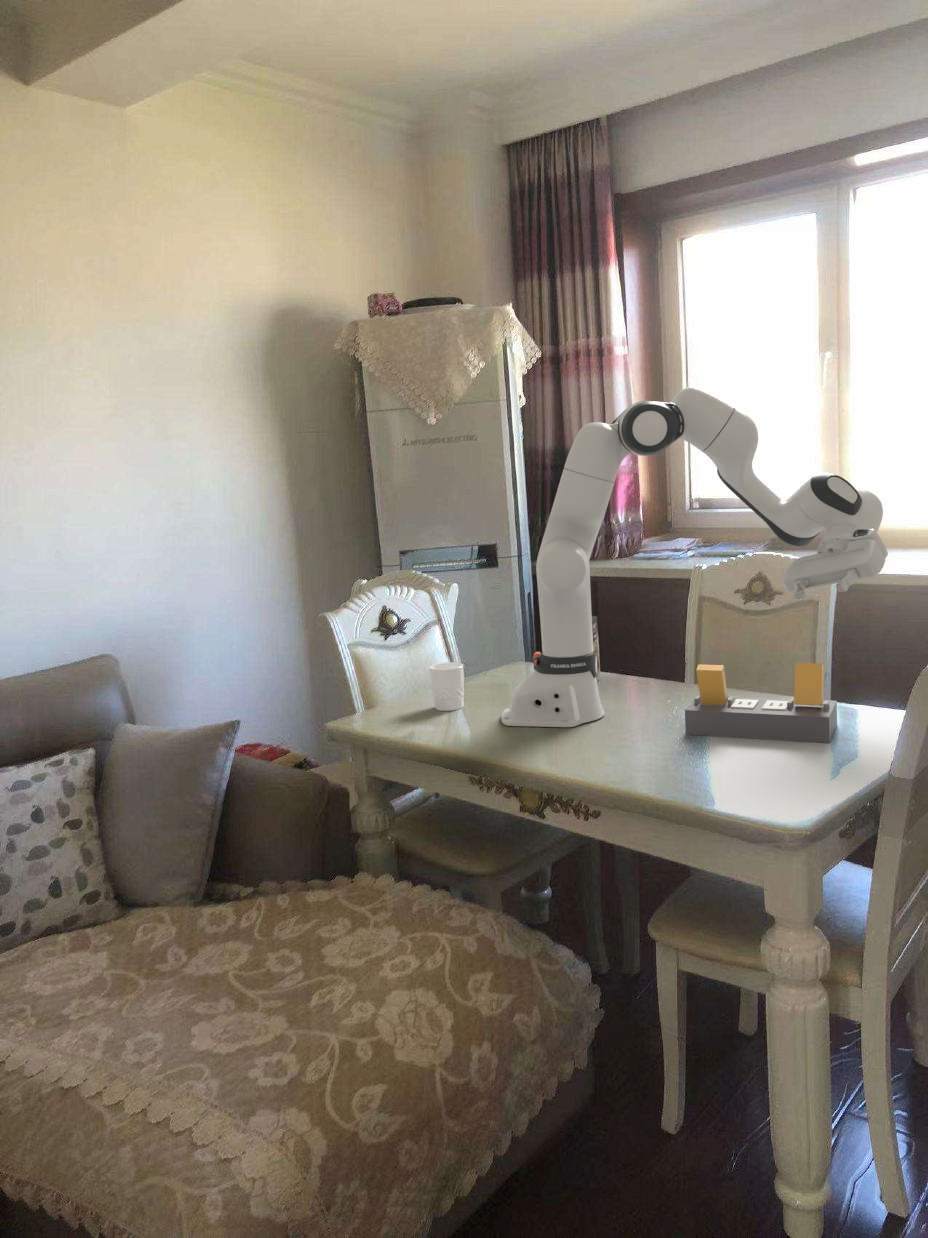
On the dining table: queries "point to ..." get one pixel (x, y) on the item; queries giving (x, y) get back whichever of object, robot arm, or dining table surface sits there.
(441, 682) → the white cup
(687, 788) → the dining table surface
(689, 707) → the power box
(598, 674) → the coffee box
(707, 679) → the switch
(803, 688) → the switch
